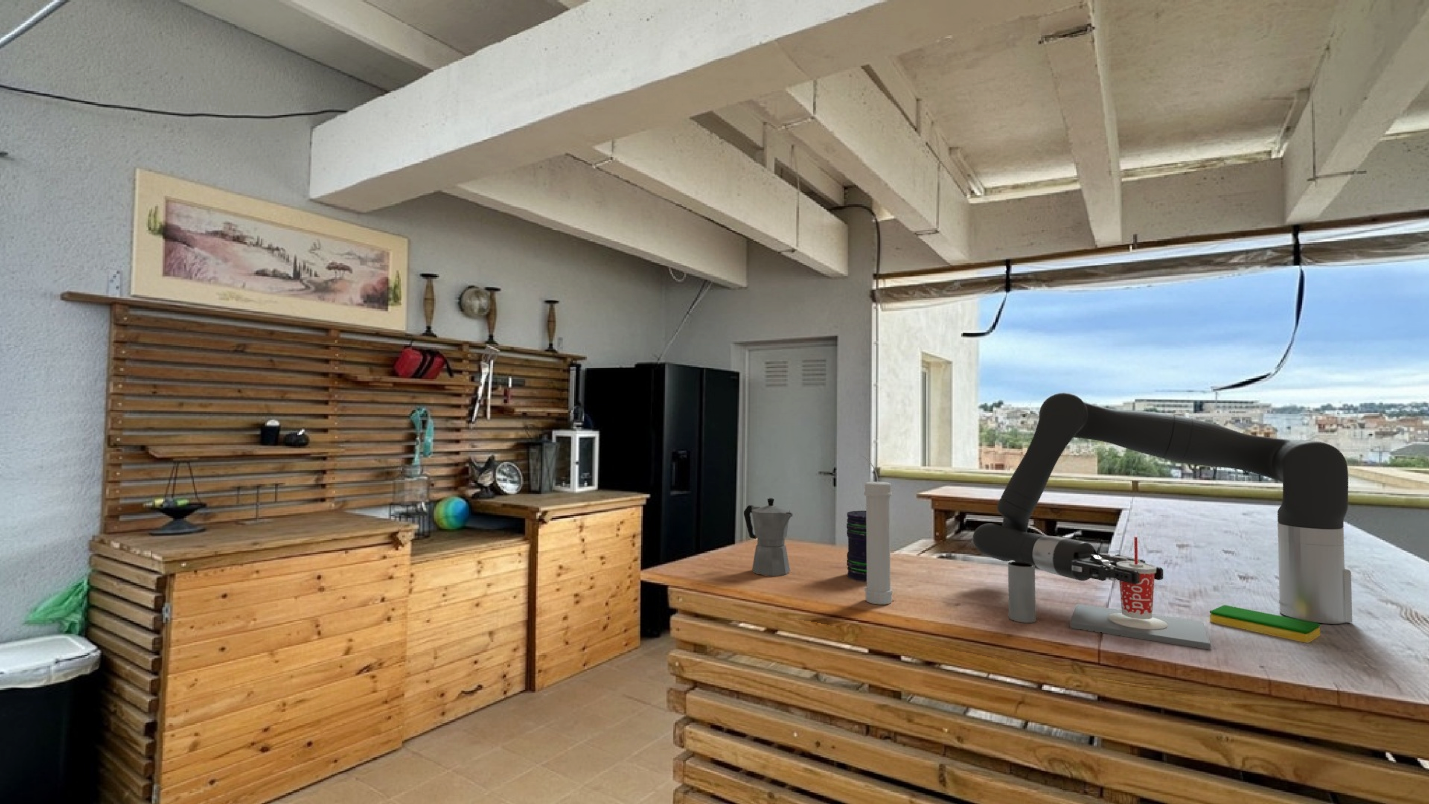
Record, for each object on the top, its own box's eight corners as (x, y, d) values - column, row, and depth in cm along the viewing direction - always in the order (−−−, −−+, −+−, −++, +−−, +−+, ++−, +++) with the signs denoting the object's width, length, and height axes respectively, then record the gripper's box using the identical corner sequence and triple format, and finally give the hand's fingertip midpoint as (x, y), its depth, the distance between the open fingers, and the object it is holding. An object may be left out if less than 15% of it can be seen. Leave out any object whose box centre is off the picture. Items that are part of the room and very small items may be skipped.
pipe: (893, 606, 130) (892, 455, 131) (861, 604, 131) (860, 455, 132) (891, 598, 135) (890, 454, 136) (860, 596, 136) (860, 454, 137)
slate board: (1203, 626, 117) (1203, 619, 117) (1210, 649, 105) (1210, 642, 105) (1076, 608, 128) (1076, 602, 128) (1070, 627, 116) (1070, 621, 116)
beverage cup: (1113, 615, 116) (1112, 537, 117) (1120, 608, 121) (1119, 532, 121) (1153, 623, 112) (1152, 541, 113) (1160, 615, 117) (1159, 536, 117)
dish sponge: (1224, 617, 124) (1223, 604, 124) (1321, 637, 112) (1320, 623, 112) (1209, 624, 120) (1209, 610, 120) (1308, 645, 108) (1307, 631, 108)
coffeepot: (804, 573, 157) (804, 498, 158) (779, 580, 151) (779, 502, 151) (757, 563, 168) (756, 493, 169) (731, 569, 162) (731, 496, 162)
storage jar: (895, 575, 155) (894, 512, 156) (882, 584, 147) (881, 517, 147) (855, 570, 161) (854, 509, 161) (840, 578, 152) (840, 514, 153)
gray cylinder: (1024, 624, 118) (1024, 567, 118) (1003, 617, 122) (1002, 562, 122) (1041, 620, 120) (1040, 565, 120) (1019, 614, 124) (1018, 560, 125)
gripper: (1038, 541, 127) (1123, 558, 112) (1087, 535, 133) (1175, 551, 118) (1039, 579, 127) (1124, 602, 111) (1088, 572, 133) (1175, 592, 117)
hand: (1149, 576), depth 115 cm, fingers closed on beverage cup, 6 cm apart
